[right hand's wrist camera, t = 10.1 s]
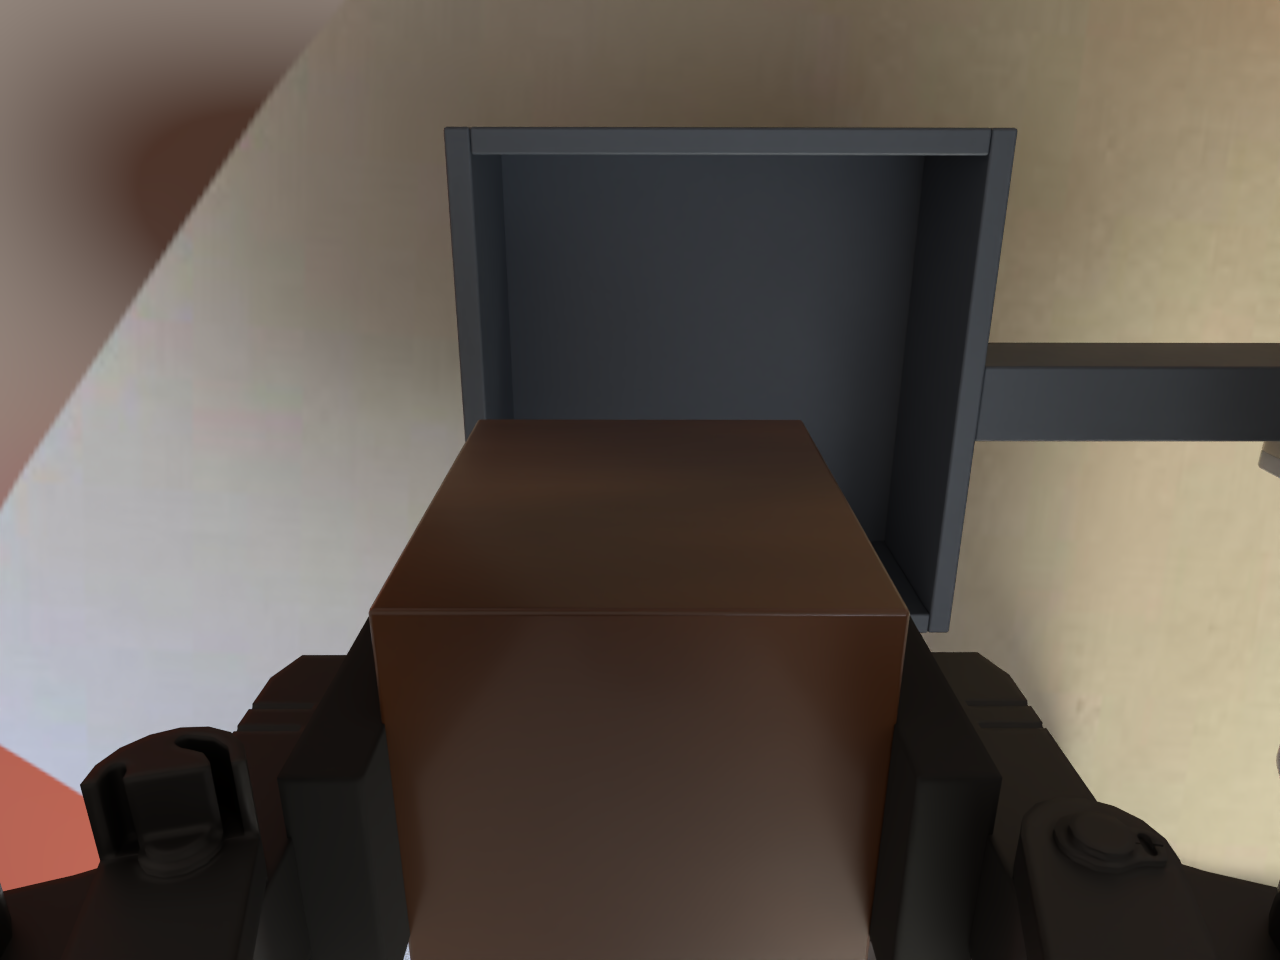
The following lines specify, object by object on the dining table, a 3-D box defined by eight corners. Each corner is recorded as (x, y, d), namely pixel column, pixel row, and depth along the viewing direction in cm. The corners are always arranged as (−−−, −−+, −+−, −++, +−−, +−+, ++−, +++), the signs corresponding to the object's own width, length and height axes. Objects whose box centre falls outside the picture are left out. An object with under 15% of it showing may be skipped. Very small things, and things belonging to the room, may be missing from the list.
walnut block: (802, 418, 14) (912, 611, 8) (783, 694, 16) (863, 1007, 10) (477, 418, 14) (365, 609, 8) (495, 694, 16) (414, 1006, 10)
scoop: (1419, 132, 26) (1618, 128, 21) (1301, 549, 31) (1439, 633, 25) (482, 130, 26) (442, 126, 21) (505, 549, 30) (478, 633, 25)
